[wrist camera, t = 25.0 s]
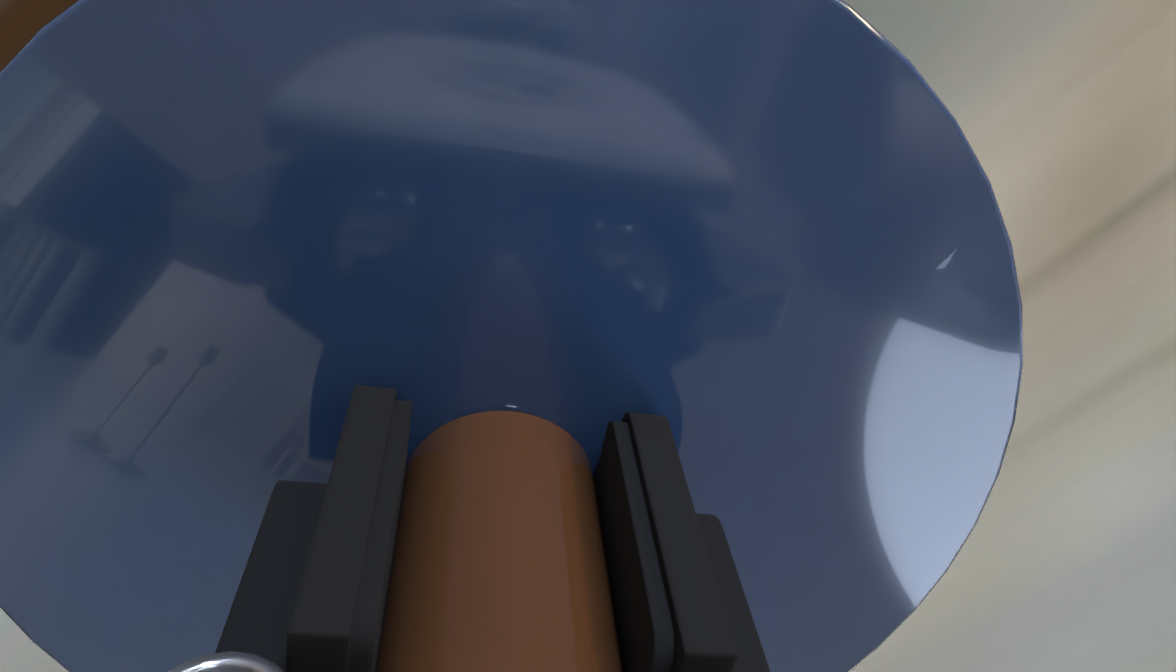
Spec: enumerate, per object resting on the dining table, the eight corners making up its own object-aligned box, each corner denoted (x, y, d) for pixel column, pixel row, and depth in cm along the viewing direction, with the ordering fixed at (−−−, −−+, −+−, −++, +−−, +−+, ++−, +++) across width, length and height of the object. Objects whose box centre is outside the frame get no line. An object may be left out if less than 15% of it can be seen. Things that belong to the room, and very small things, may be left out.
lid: (1017, 598, 15) (1292, 993, 10) (301, 819, 17) (209, 1270, 11) (905, -362, 8) (1682, -774, 3) (-345, 162, 9) (-1436, 561, 4)
